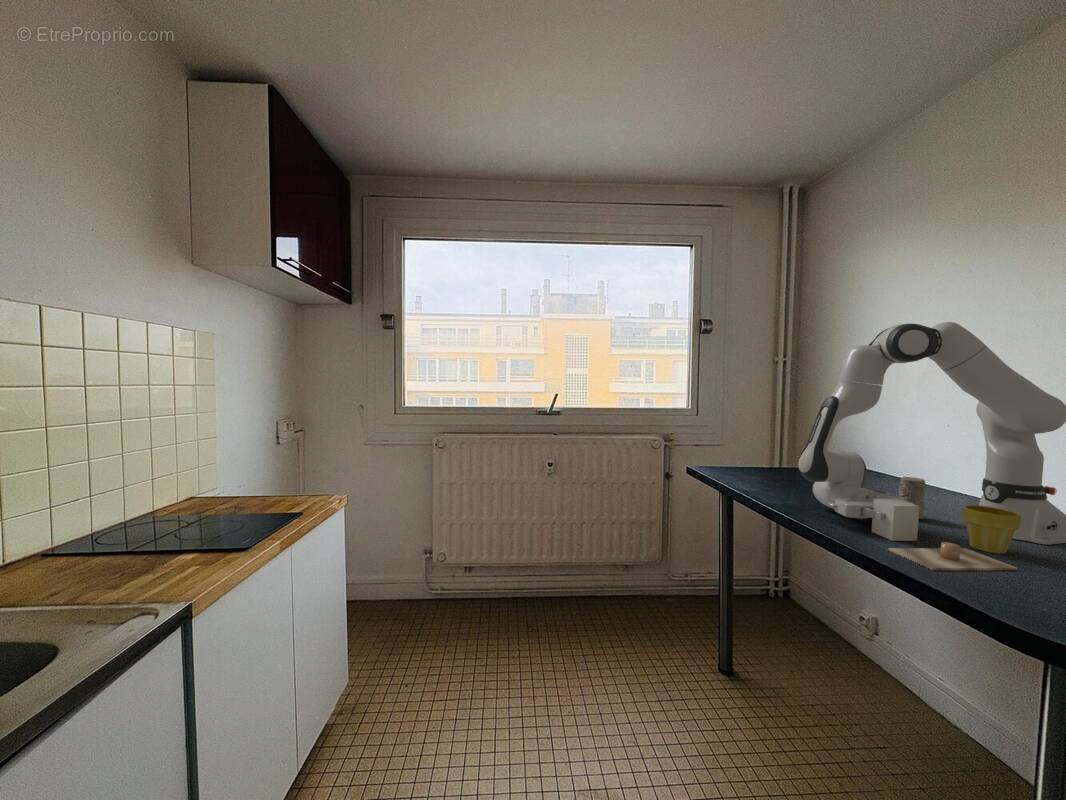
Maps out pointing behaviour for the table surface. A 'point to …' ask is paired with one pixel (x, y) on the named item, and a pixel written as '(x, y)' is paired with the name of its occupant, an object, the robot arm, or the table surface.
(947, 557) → the brown rounded block
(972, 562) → the cork mat
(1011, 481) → the robot arm
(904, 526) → the plain grey box
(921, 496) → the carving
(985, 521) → the plant pot
